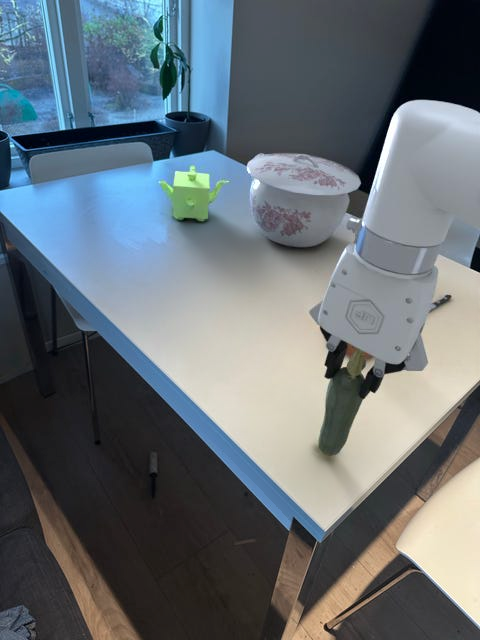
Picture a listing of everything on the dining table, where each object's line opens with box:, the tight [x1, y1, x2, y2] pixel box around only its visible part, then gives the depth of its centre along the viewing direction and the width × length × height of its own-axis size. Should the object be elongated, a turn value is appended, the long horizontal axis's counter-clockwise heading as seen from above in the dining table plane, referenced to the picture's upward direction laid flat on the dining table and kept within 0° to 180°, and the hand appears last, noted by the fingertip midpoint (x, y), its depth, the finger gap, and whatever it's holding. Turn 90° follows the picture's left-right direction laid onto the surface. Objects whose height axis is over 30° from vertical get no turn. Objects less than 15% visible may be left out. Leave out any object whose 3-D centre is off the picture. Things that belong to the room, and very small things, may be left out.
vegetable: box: [317, 345, 367, 457], centre depth 56 cm, size 4×4×20 cm
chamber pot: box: [246, 152, 362, 248], centre depth 111 cm, size 28×28×21 cm
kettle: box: [158, 164, 230, 222], centre depth 117 cm, size 15×14×11 cm
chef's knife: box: [429, 294, 453, 312], centre depth 94 cm, size 19×1×3 cm
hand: (349, 381), depth 53 cm, fingers closed on vegetable, 3 cm apart
